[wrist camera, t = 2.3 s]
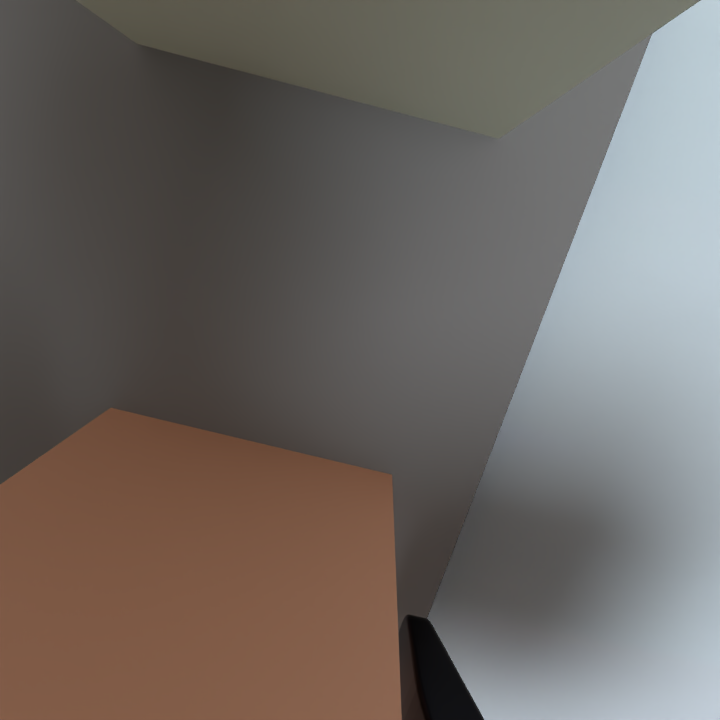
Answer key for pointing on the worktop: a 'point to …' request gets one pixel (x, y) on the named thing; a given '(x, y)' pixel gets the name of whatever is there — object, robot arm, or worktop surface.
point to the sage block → (405, 47)
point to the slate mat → (276, 262)
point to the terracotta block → (195, 581)
